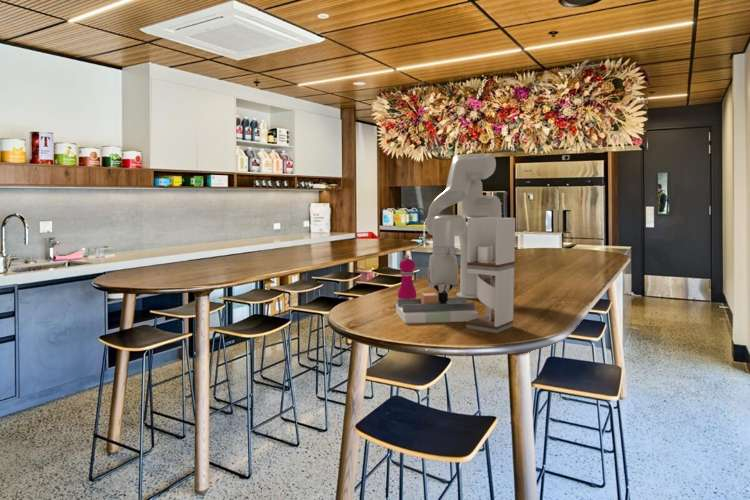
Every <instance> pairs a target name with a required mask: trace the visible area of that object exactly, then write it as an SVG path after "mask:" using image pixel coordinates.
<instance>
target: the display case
mask: <svg viewBox="0 0 750 500" xmlns="http://www.w3.org/2000/svg"><path fill="white" fill-rule="evenodd" d="M467 222H468V239H467V273H473V274H477V297H478V298H477V299H478V301H480V302H481V303H482V304H483V305H484V306H485V311H484V313H485V314H484V315H482V316H478V318H476V319H473V320H470V321H465V322H466V323H465V324H466V327H465V328H466V329H469V330H474V331H481V332H488V333H493V334H499V333H501V332H503V331H506V330H508V329H511V328H513V327H514V304H515V303H514V301H515V300H514V299H515V298H514V294H515V259H516V257H515V256H516V255H515V253H516V252H515V247H516V217H501V218H490V217H483V218H467Z"/></svg>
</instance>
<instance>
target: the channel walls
mask: <svg viewBox="0 0 750 500" xmlns="http://www.w3.org/2000/svg"><path fill="white" fill-rule="evenodd" d="M397 304H398V306H403V312H435V311H468V310H475V311H476V302H472V301H471V302H467V298H466V297H458V296H455V297H451V296H450V297H448V301H446V303H440V302H439V301H438V303H436V304H421V297H419V298H417V297H416V298H414V299H399V298H397Z"/></svg>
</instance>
